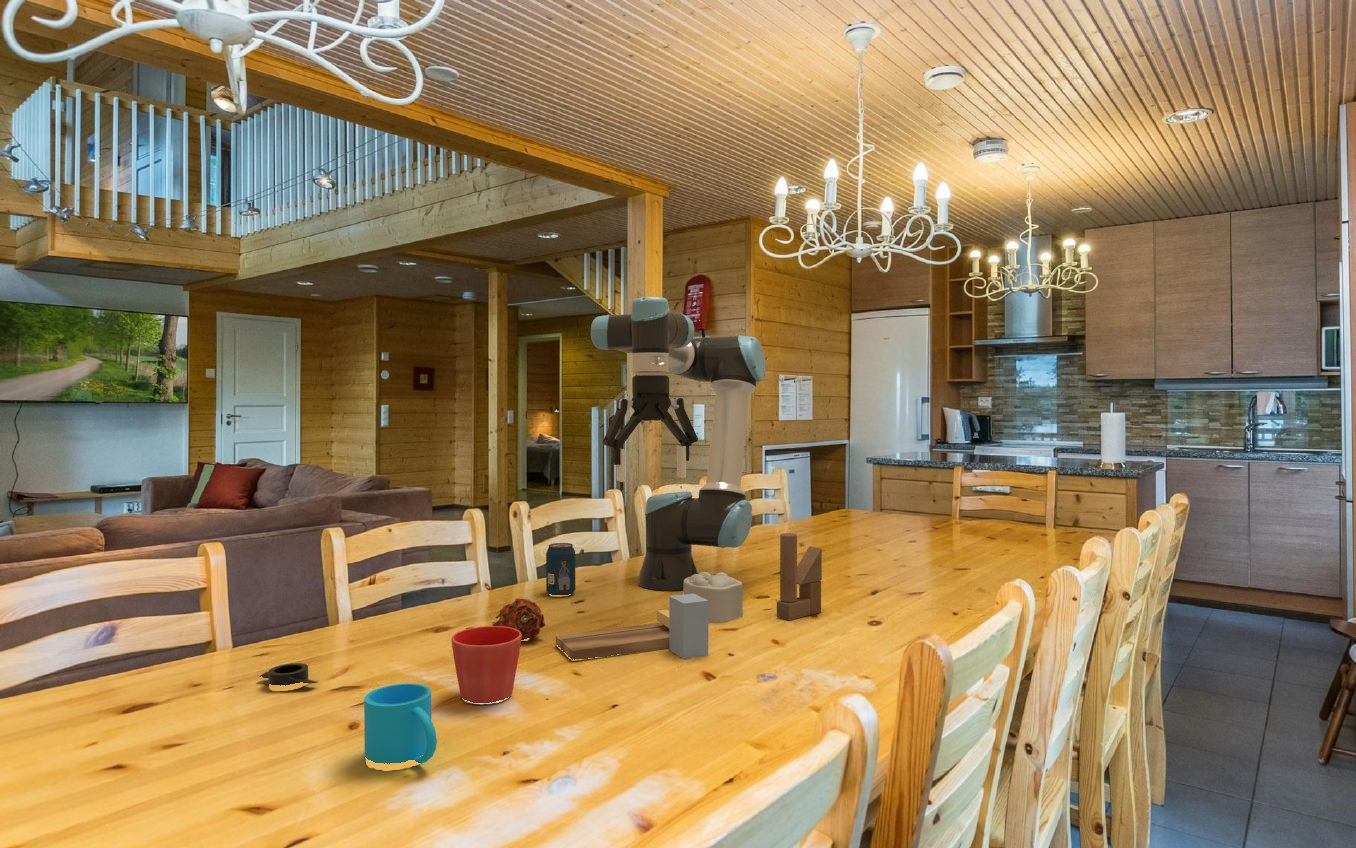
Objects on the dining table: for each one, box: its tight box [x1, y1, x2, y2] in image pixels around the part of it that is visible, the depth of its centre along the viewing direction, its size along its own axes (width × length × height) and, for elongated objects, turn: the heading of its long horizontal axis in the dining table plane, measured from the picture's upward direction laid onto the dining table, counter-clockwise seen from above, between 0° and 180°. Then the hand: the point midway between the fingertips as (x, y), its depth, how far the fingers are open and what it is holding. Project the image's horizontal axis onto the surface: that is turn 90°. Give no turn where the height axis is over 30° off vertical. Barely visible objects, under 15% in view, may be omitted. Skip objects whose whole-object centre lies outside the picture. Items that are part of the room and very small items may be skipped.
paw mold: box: [682, 571, 744, 624], centre depth 171 cm, size 10×13×9 cm
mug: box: [363, 682, 438, 764], centre depth 100 cm, size 12×8×8 cm
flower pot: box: [451, 625, 522, 703], centre depth 123 cm, size 11×11×10 cm
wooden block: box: [776, 532, 823, 621], centre depth 170 cm, size 4×11×18 cm, turn 130°
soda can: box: [545, 542, 576, 595], centre depth 189 cm, size 7×7×12 cm
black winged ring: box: [259, 662, 318, 686], centre depth 128 cm, size 8×10×3 cm
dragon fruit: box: [491, 597, 546, 640], centre depth 153 cm, size 8×8×12 cm
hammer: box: [656, 593, 709, 660], centre depth 149 cm, size 15×5×10 cm, turn 26°
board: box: [555, 622, 669, 660], centre depth 149 cm, size 10×26×2 cm, turn 116°
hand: (651, 479), depth 160 cm, fingers open, 13 cm apart
